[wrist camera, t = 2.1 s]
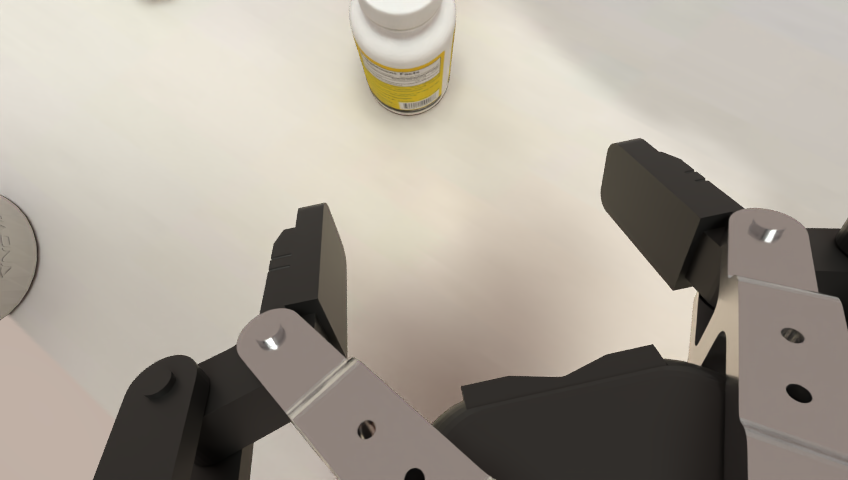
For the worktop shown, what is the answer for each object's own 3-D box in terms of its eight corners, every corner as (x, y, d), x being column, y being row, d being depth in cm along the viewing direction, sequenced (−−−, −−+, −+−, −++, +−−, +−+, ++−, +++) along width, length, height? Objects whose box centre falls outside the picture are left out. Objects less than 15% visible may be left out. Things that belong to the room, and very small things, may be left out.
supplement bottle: (393, 24, 28) (378, -112, 18) (463, 64, 27) (486, -52, 18) (352, 91, 27) (312, -10, 17) (422, 132, 27) (423, 53, 17)
